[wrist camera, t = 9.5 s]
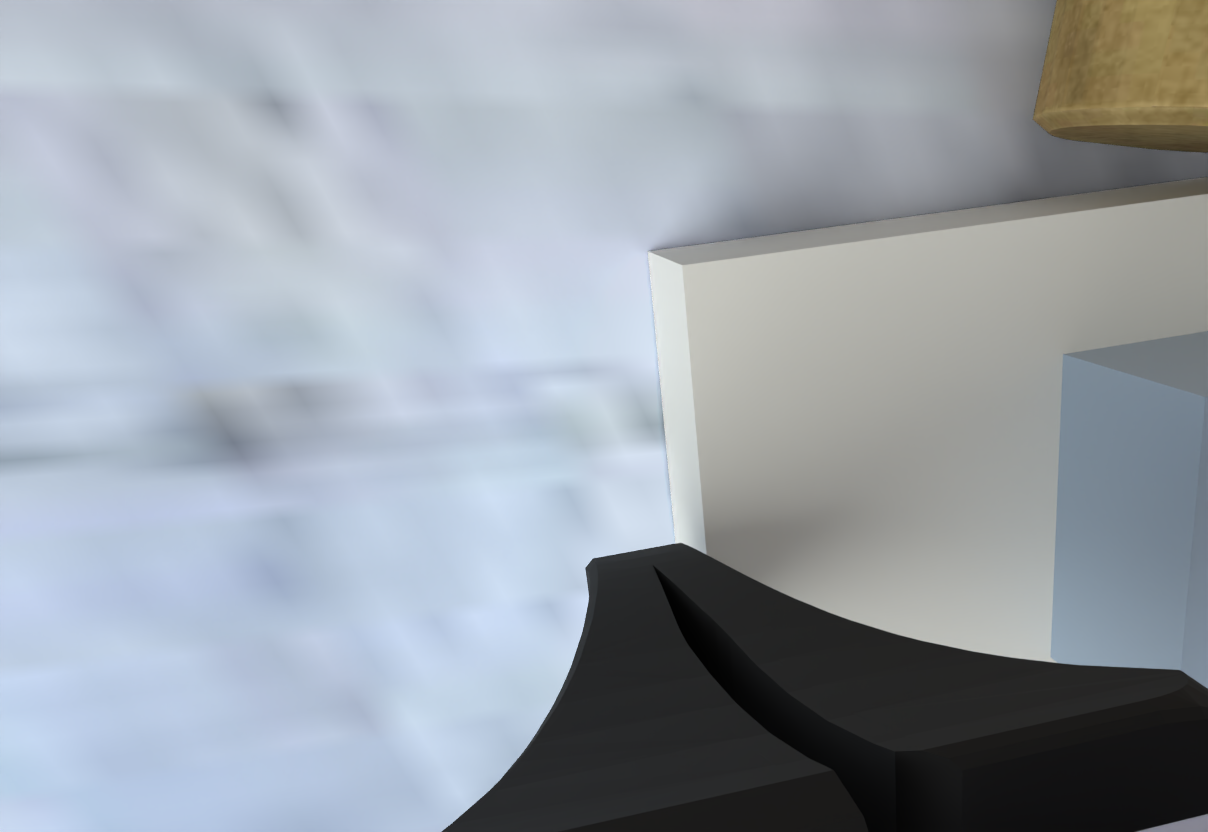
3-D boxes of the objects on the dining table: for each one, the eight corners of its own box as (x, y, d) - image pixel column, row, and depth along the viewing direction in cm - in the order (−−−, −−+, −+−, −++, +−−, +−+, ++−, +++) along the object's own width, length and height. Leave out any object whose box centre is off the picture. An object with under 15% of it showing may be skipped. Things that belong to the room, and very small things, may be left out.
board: (1321, 886, 20) (1414, 963, 18) (723, 1045, 18) (756, 1149, 16) (1437, 146, 15) (1579, 143, 13) (647, 250, 13) (682, 265, 11)
